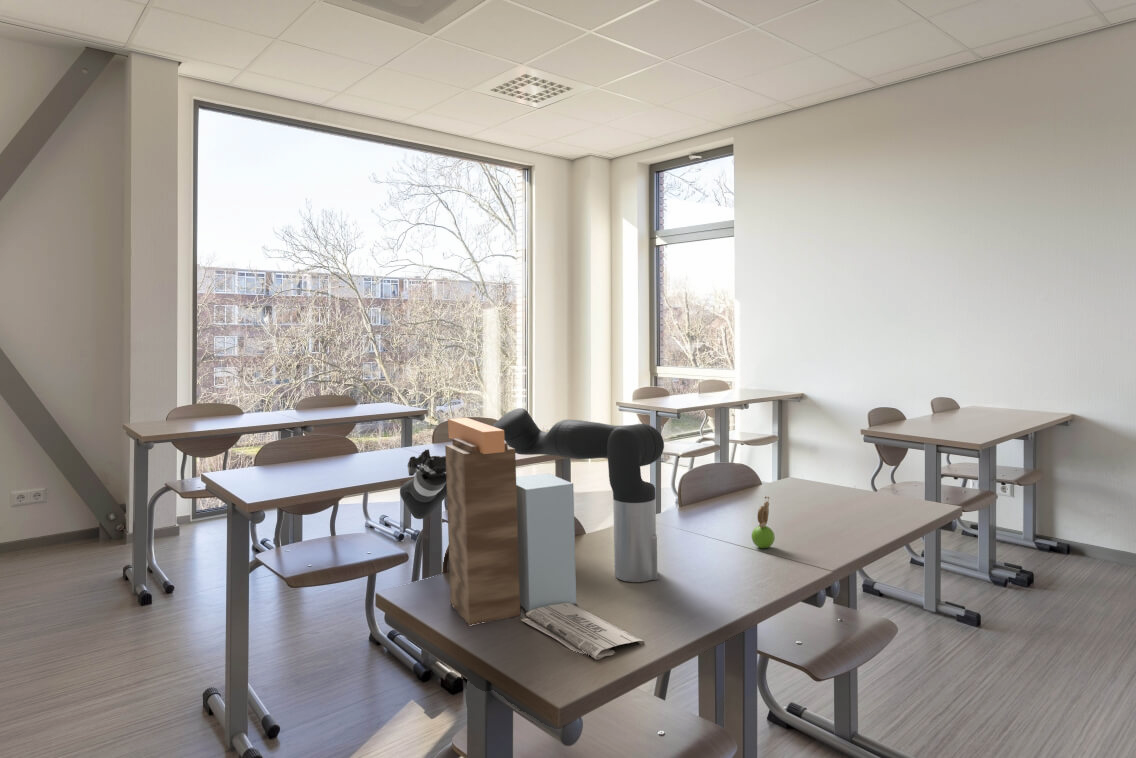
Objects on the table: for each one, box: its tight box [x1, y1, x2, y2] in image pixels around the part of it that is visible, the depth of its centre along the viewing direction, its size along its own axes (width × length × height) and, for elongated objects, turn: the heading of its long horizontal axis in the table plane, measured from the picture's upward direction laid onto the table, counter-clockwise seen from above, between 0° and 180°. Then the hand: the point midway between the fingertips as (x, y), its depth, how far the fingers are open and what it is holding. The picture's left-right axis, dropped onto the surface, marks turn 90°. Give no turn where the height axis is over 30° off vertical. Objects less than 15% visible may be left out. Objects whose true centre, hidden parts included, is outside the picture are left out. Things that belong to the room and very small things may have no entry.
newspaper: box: [520, 603, 646, 660], centre depth 123 cm, size 23×12×2 cm, turn 35°
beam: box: [447, 417, 505, 454], centre depth 136 cm, size 24×4×4 cm, turn 25°
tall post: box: [444, 438, 521, 626], centre depth 133 cm, size 12×10×33 cm
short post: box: [516, 473, 577, 612], centre depth 139 cm, size 12×10×24 cm
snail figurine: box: [751, 496, 776, 549], centre depth 169 cm, size 5×6×12 cm
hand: (447, 451), depth 152 cm, fingers open, 8 cm apart
